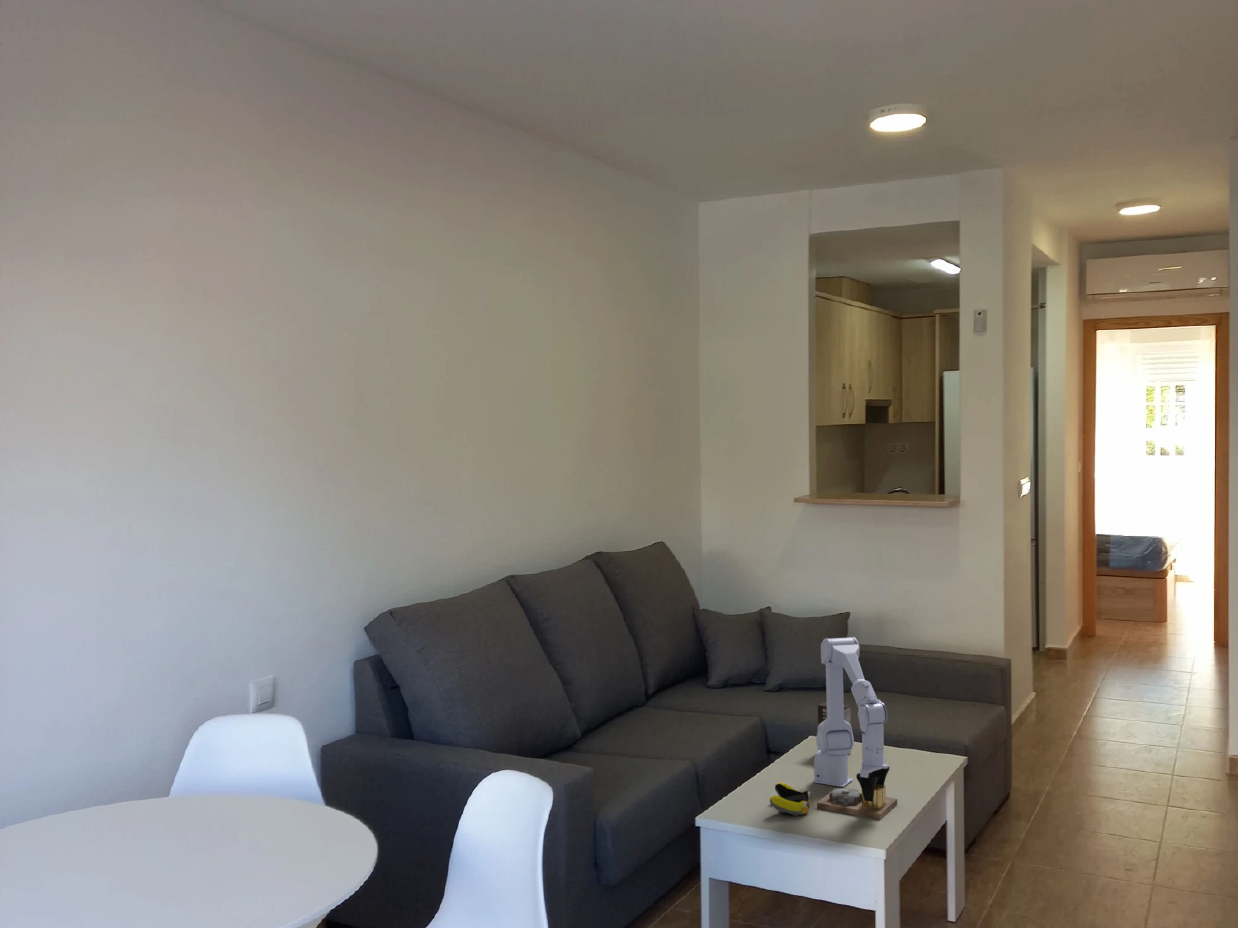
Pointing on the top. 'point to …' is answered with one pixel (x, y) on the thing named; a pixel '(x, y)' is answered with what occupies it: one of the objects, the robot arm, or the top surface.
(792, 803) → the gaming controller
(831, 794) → the gear board
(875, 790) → the wooden gear
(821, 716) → the coffee box
